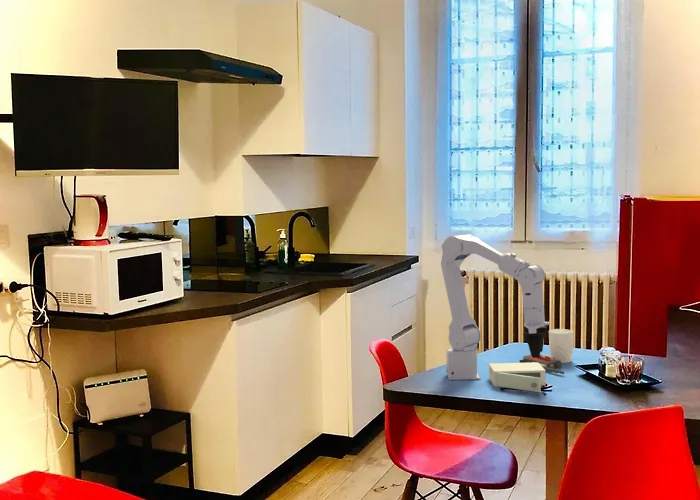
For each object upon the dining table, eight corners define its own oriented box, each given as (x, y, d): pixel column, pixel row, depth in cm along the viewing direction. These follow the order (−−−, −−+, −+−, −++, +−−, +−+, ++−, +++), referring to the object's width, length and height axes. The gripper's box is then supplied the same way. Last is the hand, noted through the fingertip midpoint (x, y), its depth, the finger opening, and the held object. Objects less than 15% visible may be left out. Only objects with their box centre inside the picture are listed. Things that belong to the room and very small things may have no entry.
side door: (495, 387, 222) (495, 373, 222) (498, 385, 224) (498, 372, 223) (538, 393, 215) (538, 379, 214) (540, 391, 216) (540, 377, 216)
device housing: (494, 386, 224) (494, 371, 224) (489, 377, 234) (488, 363, 234) (545, 385, 223) (545, 370, 223) (538, 376, 234) (538, 362, 233)
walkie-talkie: (514, 366, 250) (561, 378, 233) (514, 352, 249) (561, 364, 232) (533, 362, 254) (581, 373, 238) (533, 349, 254) (581, 359, 237)
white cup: (578, 361, 252) (578, 331, 251) (562, 364, 248) (562, 334, 247) (559, 357, 259) (559, 328, 258) (543, 360, 254) (543, 331, 253)
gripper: (545, 310, 211) (549, 359, 211) (550, 303, 224) (553, 349, 225) (519, 311, 213) (523, 359, 214) (525, 304, 227) (529, 349, 227)
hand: (537, 354), depth 219 cm, fingers open, 7 cm apart
